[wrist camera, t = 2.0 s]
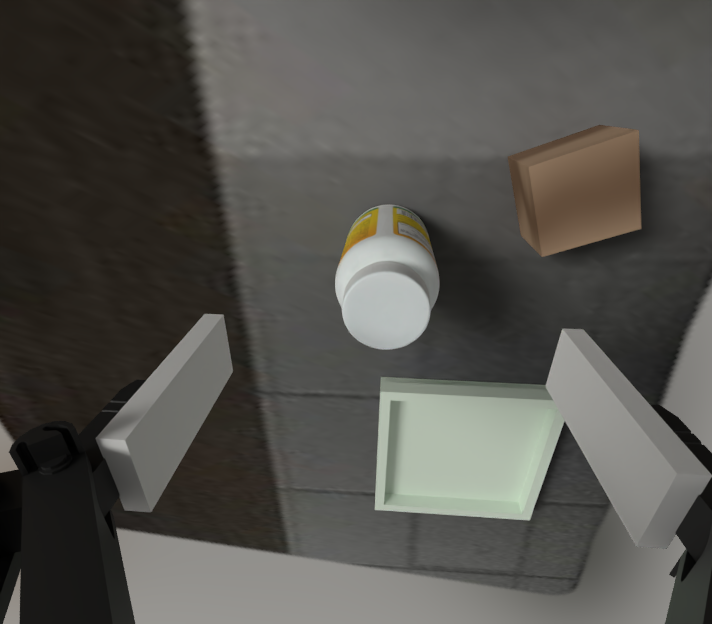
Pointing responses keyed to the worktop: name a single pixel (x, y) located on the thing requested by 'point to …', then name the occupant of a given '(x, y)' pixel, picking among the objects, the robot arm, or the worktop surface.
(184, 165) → the worktop surface
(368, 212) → the supplement bottle
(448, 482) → the tray
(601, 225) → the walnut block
